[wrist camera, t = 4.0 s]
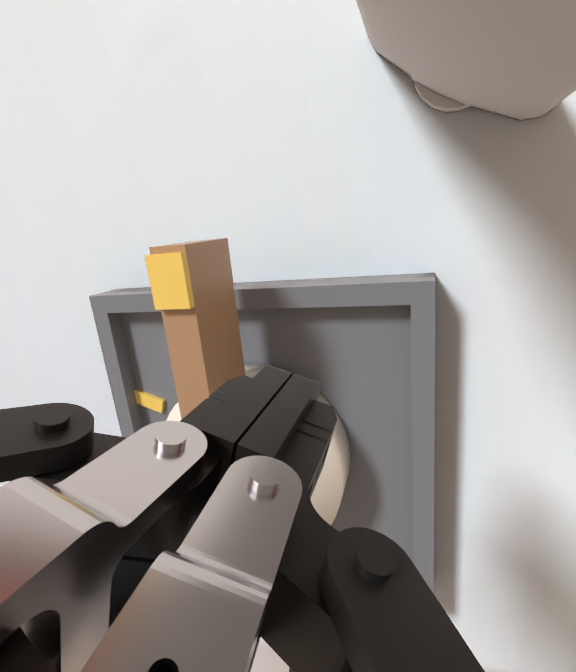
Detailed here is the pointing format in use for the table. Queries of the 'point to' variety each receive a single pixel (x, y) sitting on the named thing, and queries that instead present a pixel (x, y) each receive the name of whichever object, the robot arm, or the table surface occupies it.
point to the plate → (323, 366)
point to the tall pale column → (480, 51)
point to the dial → (219, 343)
